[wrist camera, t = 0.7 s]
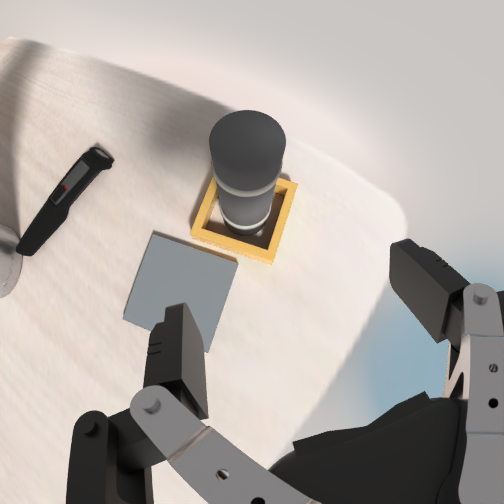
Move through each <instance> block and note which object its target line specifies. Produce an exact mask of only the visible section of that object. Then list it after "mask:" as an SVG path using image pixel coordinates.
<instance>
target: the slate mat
mask: <svg viewBox="0 0 504 504" xmlns="http://www.w3.org/2000/svg"><path fill="white" fill-rule="evenodd" d="M237 267H238V263H237V262H234V261H231V260H228V259H225V258H222V257H219V256H216V255H213V254H210V253H207V252H204V251H201V250H198V249H195V248H192V247H189V246H187V245H184V244H181V243H178V242H175V241H172V240H169V239H166V238H163V237H160V236H157V235H155V234H153V235H152V238H151V240H150V243H149V245H148V248H147V251H146V253H145V256H144V259H143V261H142V264H141V267H140V269H139V272H138V275H137V278H136V281H135V283H134V286H133V289H132V292H131V295H130V298H129V301H128V304H127V307H126V310H125V313H124V316H123V319H124V320H126V321H128V322H130V323H133V324H135V325H137V326H140V327H142V328H144V329H147V330H149V331H152V330H153V328H154V326H155V325H156V323H160V322H164V316H165V309H166V307H168V306H172V305H176V304H180V303H184V302H186V303H187V305H188V307H189V309H190V311H191V314H192V316H193V318H194V320H195V322H196V324H197V327H198V329H199V331H200V333H201V336H202V340H203V345H204V352H206V353H208V351H209V349H210V346H211V343H212V340H213V337H214V334H215V331H216V328H217V325H218V322H219V319H220V316H221V313H222V310H223V307H224V304H225V301H226V299H227V296H228V293H229V290H230V287H231V284H232V281H233V278H234V275H235V272H236V269H237Z"/></svg>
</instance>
